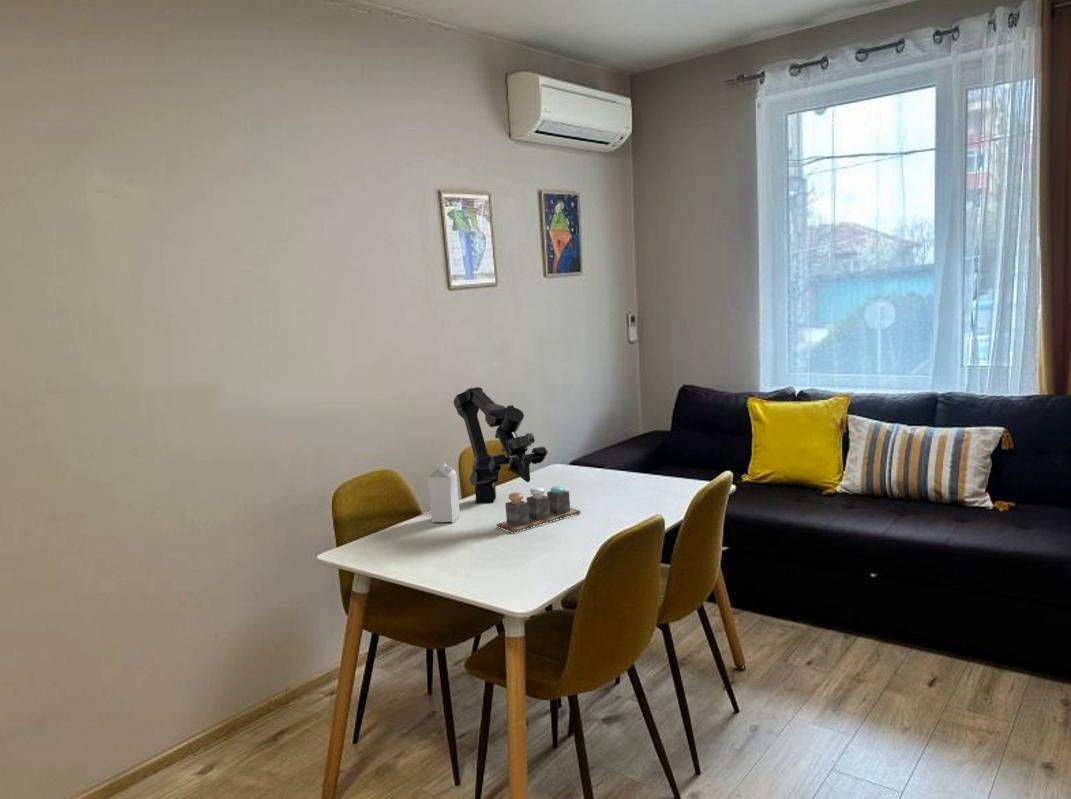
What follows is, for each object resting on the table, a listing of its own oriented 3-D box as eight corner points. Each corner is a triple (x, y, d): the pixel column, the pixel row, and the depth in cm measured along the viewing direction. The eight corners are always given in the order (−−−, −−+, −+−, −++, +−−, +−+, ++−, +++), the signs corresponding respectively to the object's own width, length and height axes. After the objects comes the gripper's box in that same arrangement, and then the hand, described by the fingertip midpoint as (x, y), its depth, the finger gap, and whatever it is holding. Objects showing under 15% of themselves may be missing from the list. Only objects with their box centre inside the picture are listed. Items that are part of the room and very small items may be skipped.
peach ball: (514, 509, 218) (513, 497, 217) (506, 506, 222) (505, 494, 221) (526, 505, 221) (525, 494, 220) (518, 503, 224) (517, 491, 224)
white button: (536, 503, 223) (535, 492, 222) (528, 500, 226) (527, 489, 226) (547, 500, 225) (547, 489, 224) (539, 497, 229) (538, 486, 228)
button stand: (513, 533, 215) (511, 509, 214) (496, 527, 223) (495, 503, 222) (580, 513, 230) (579, 491, 229) (563, 508, 238) (561, 486, 236)
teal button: (557, 502, 227) (556, 490, 227) (548, 499, 231) (548, 488, 230) (568, 498, 230) (567, 488, 229) (559, 496, 233) (558, 485, 233)
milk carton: (431, 523, 231) (426, 465, 228) (439, 516, 238) (434, 460, 235) (452, 523, 229) (447, 465, 226) (460, 516, 236) (455, 460, 233)
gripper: (489, 430, 219) (509, 472, 211) (542, 421, 228) (563, 461, 220) (480, 451, 227) (499, 492, 219) (532, 442, 236) (551, 481, 228)
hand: (528, 481), depth 222 cm, fingers closed
